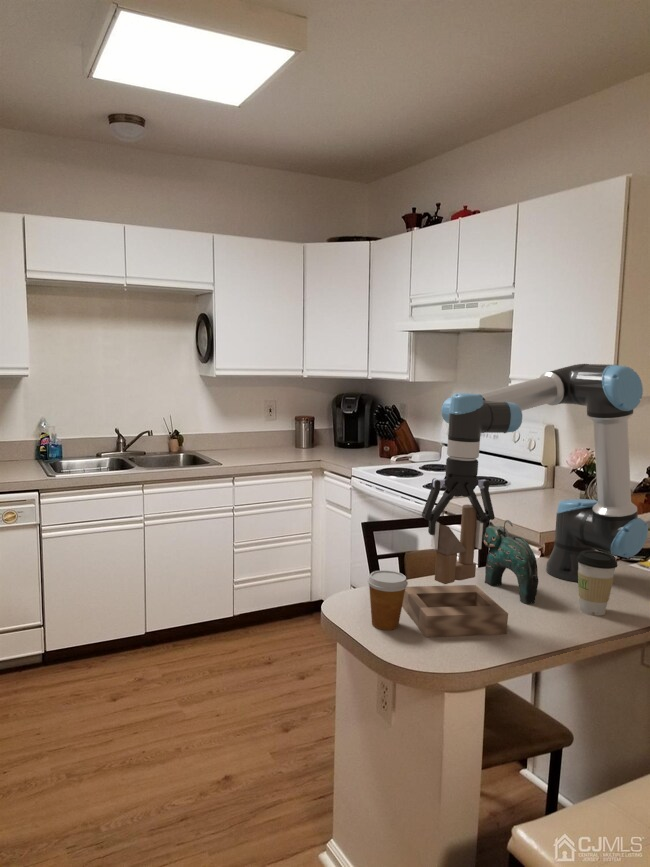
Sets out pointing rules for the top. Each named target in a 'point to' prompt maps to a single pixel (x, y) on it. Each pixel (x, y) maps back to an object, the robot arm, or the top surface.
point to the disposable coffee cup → (386, 598)
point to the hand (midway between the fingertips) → (455, 547)
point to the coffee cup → (595, 580)
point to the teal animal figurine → (510, 561)
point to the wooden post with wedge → (457, 549)
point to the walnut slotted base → (454, 611)
